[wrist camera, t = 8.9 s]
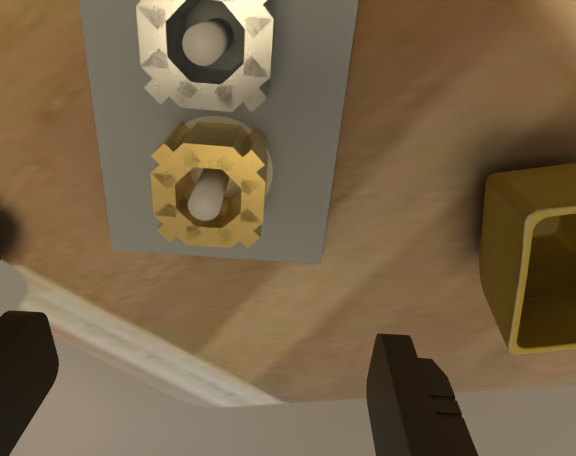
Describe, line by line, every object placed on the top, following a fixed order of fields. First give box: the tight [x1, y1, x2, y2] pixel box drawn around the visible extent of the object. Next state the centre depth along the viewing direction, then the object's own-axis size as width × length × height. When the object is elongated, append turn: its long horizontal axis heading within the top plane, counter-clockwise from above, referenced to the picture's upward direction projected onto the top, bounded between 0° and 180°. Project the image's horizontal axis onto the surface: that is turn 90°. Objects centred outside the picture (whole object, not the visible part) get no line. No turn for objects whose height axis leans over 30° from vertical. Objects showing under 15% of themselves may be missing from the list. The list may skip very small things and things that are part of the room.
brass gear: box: [150, 121, 268, 248], centre depth 24 cm, size 6×6×4 cm
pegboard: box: [79, 0, 359, 264], centre depth 23 cm, size 14×20×6 cm
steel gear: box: [136, 0, 276, 112], centre depth 21 cm, size 6×6×4 cm
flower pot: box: [479, 163, 576, 354], centre depth 25 cm, size 9×9×9 cm
